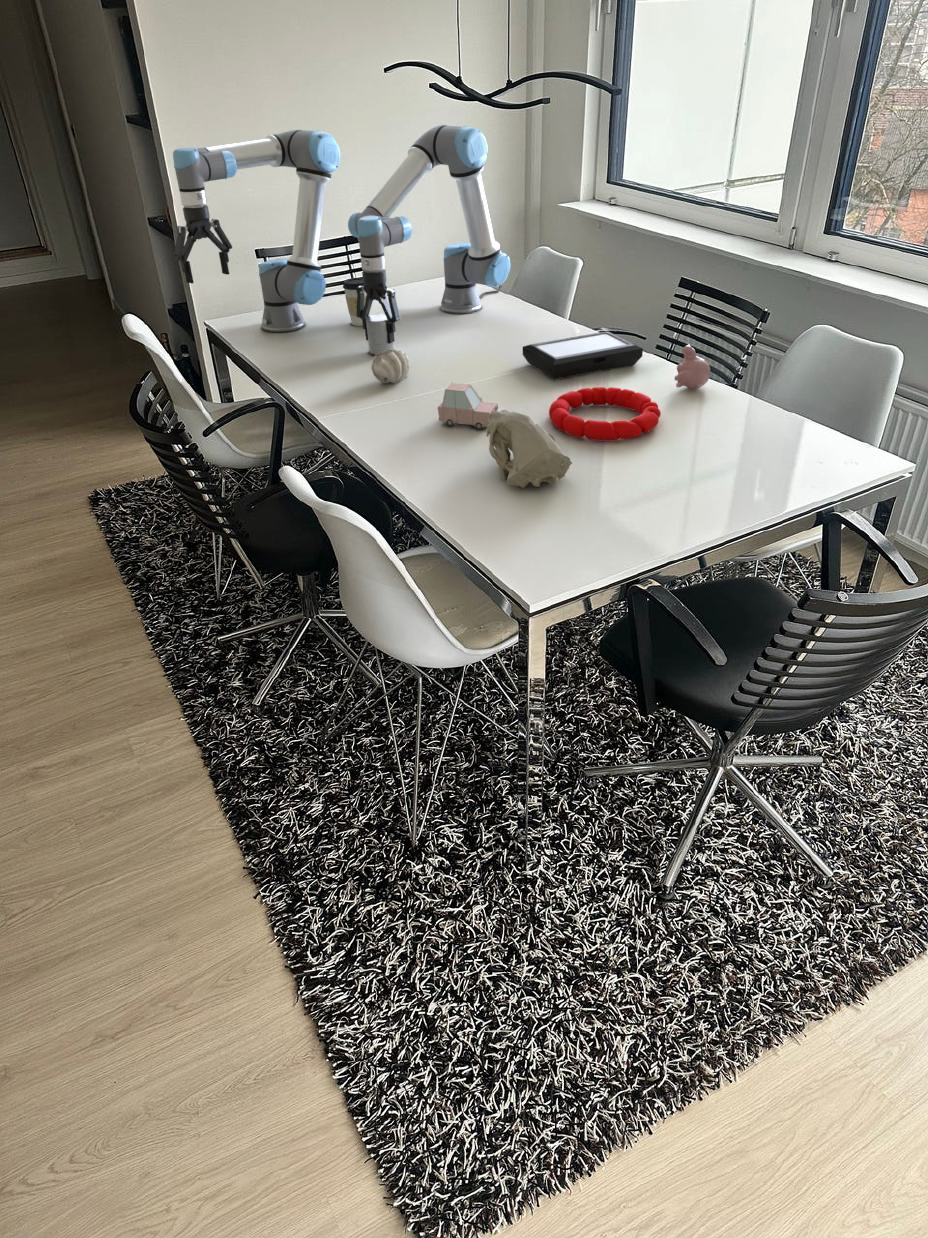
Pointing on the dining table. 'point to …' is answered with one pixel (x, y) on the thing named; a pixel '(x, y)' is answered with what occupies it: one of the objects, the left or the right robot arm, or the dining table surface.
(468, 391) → the toy car
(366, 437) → the dining table surface
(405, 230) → the right robot arm
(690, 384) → the figurine
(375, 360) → the seashell
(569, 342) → the electronic device
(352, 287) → the coffee cup
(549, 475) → the animal skull
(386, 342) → the canister
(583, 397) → the decorative ring
